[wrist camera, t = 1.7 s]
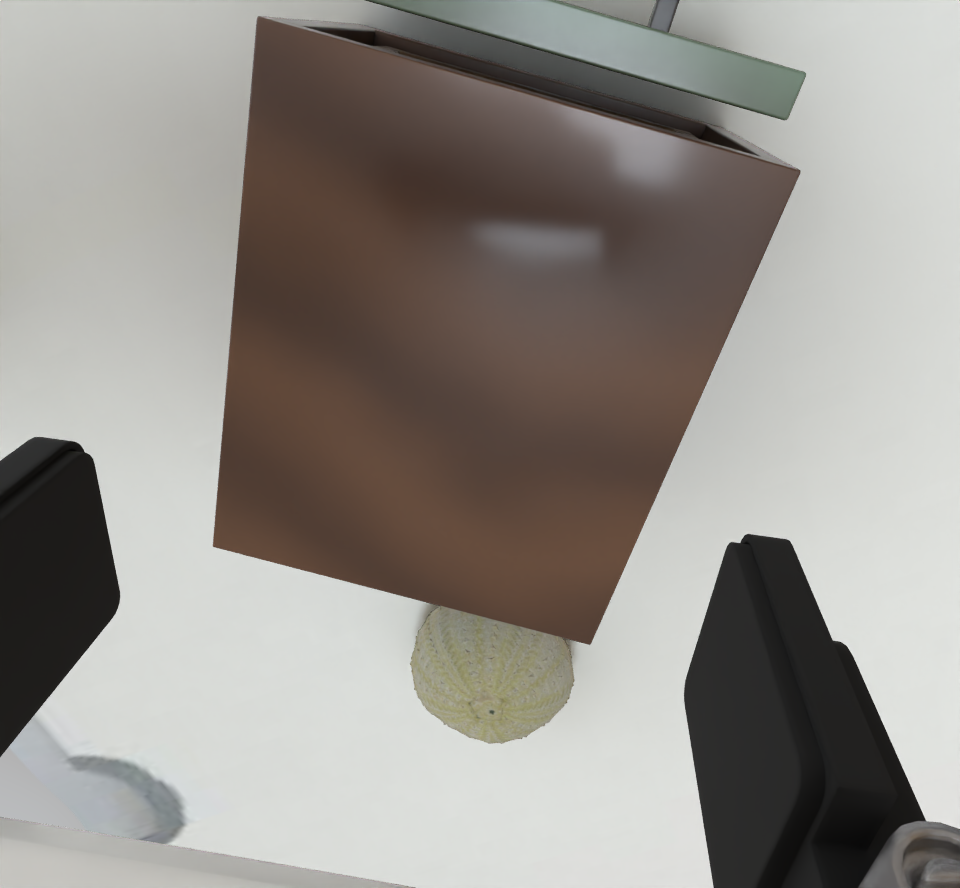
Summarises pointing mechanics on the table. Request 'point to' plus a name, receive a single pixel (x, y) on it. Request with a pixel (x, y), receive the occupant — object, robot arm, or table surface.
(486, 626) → the sea urchin shell
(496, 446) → the cabinet
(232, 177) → the table surface
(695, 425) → the table surface
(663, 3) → the drawer
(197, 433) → the table surface
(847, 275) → the table surface
